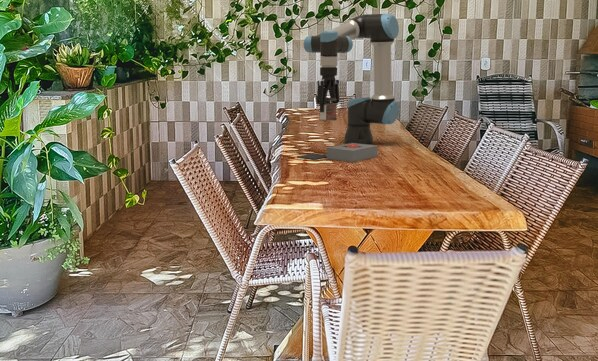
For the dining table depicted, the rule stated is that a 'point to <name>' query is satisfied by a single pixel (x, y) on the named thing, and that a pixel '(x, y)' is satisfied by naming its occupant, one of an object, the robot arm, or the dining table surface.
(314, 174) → the dining table surface
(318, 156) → the mat
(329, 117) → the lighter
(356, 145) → the red dome button
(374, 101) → the robot arm
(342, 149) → the button panel
